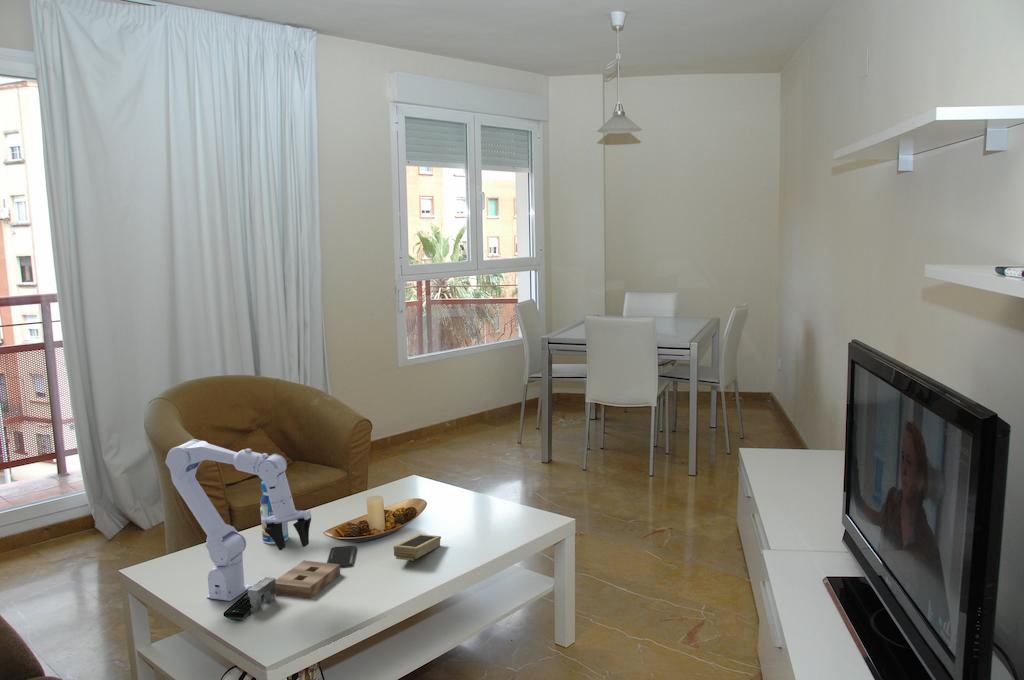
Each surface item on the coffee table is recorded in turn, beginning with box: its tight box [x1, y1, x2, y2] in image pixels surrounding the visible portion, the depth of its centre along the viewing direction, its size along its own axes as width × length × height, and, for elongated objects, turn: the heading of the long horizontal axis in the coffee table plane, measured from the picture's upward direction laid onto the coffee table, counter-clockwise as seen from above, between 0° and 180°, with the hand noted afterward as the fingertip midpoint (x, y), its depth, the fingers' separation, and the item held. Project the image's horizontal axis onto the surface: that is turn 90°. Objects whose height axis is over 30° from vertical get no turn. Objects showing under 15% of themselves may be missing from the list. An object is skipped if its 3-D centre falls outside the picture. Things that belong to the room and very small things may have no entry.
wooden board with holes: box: [274, 559, 341, 599], centre depth 224 cm, size 16×12×3 cm
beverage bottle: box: [259, 480, 289, 545], centre depth 257 cm, size 8×8×20 cm
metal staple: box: [247, 576, 277, 613], centre depth 211 cm, size 8×3×6 cm, turn 162°
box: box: [393, 533, 442, 561], centre depth 243 cm, size 8×22×5 cm, turn 165°
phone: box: [326, 545, 357, 569], centre depth 242 cm, size 8×1×15 cm
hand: (294, 546), depth 215 cm, fingers open, 7 cm apart
